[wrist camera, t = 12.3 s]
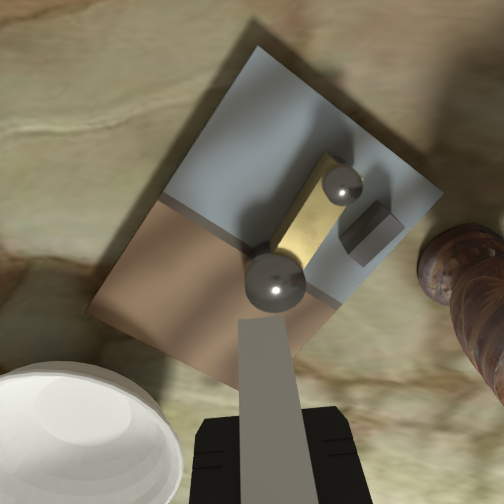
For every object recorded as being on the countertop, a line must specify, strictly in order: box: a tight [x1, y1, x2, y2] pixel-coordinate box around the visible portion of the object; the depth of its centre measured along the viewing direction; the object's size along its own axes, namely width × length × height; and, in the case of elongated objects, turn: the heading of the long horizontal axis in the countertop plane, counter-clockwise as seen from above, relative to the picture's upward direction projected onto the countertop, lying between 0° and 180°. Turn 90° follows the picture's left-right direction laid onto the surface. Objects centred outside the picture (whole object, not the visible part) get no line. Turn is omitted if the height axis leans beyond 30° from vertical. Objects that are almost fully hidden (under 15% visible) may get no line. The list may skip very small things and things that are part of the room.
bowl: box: [0, 361, 183, 504], centre depth 39 cm, size 20×20×6 cm
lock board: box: [84, 45, 444, 391], centre depth 33 cm, size 17×24×5 cm
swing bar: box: [244, 152, 364, 313], centre depth 31 cm, size 12×4×4 cm, turn 151°
